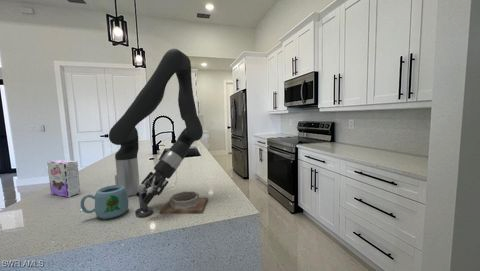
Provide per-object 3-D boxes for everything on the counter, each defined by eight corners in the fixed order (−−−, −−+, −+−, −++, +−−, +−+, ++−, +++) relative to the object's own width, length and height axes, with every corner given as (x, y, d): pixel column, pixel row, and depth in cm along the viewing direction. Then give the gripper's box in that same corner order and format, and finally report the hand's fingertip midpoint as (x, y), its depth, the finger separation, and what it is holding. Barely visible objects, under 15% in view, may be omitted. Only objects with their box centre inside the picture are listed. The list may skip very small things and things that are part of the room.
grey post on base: (133, 213, 80) (131, 185, 79) (149, 208, 84) (147, 181, 83) (138, 219, 75) (136, 189, 74) (155, 213, 79) (153, 185, 78)
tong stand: (159, 213, 79) (159, 202, 79) (171, 200, 91) (170, 191, 91) (201, 213, 79) (201, 202, 78) (207, 200, 90) (207, 190, 90)
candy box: (50, 194, 102) (46, 161, 101) (64, 190, 108) (60, 159, 106) (67, 198, 97) (63, 163, 96) (81, 193, 103) (77, 160, 101)
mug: (80, 227, 71) (77, 199, 70) (83, 214, 80) (81, 189, 79) (130, 215, 78) (128, 189, 77) (128, 205, 88) (126, 181, 87)
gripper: (155, 156, 88) (127, 190, 82) (169, 161, 78) (139, 200, 71) (168, 166, 92) (142, 199, 86) (183, 172, 82) (156, 210, 75)
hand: (141, 199), depth 78 cm, fingers open, 8 cm apart
